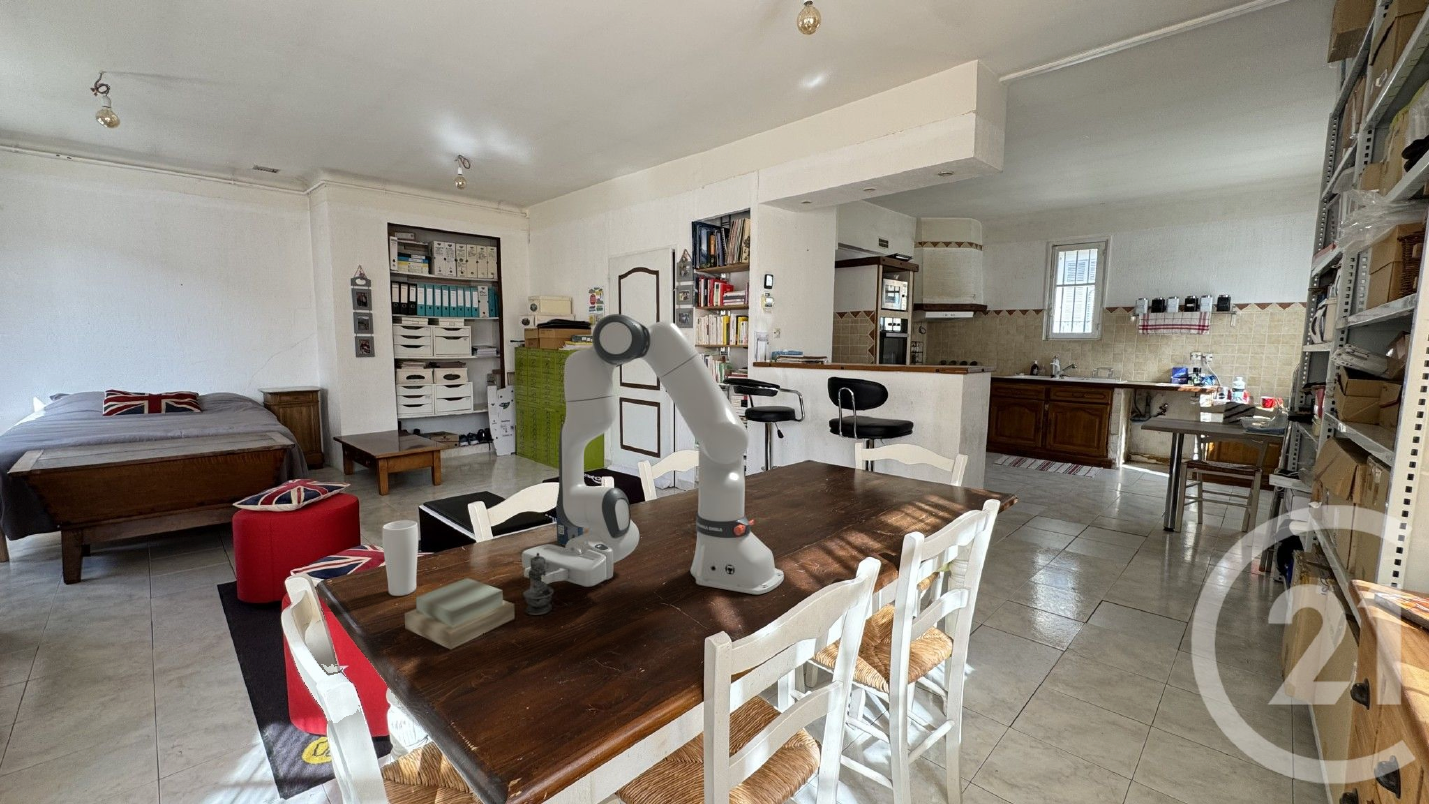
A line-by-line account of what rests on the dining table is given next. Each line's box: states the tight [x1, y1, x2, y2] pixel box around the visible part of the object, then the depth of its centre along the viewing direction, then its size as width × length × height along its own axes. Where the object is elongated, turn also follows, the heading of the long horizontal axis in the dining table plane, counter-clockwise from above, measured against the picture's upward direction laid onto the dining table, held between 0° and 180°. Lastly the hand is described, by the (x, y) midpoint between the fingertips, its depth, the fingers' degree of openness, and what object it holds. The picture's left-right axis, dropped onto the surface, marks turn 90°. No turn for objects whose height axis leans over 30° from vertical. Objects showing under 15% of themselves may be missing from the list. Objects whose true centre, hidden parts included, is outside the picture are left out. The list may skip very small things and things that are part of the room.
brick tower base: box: [404, 577, 515, 650], centre depth 113 cm, size 14×14×6 cm
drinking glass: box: [382, 519, 419, 597], centre depth 126 cm, size 7×7×15 cm
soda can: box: [556, 514, 584, 546], centre depth 159 cm, size 7×7×12 cm
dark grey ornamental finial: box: [523, 553, 555, 616], centre depth 119 cm, size 6×6×12 cm
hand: (535, 576), depth 118 cm, fingers closed on dark grey ornamental finial, 4 cm apart
